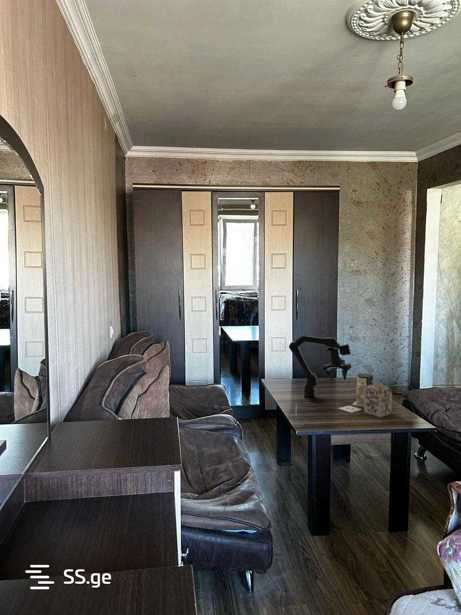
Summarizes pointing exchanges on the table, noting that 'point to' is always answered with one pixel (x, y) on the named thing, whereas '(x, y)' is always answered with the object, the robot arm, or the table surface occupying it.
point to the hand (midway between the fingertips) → (338, 380)
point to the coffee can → (365, 379)
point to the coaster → (357, 404)
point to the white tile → (350, 408)
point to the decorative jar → (378, 400)
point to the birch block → (360, 393)
